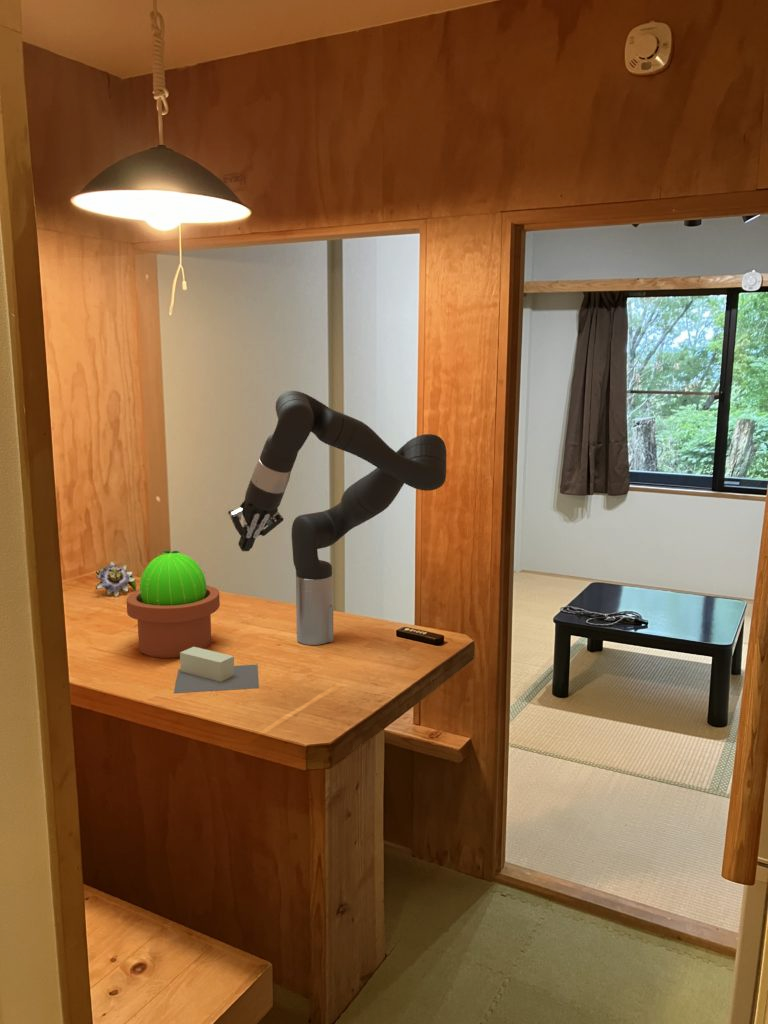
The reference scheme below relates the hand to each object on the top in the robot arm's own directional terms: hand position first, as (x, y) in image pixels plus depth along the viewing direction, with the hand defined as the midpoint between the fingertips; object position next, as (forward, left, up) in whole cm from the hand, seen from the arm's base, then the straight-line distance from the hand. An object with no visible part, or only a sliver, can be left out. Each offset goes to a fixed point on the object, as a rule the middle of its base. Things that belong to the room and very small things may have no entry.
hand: (244, 549), depth 173 cm
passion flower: (+40, -77, -31) cm, 92 cm away
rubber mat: (+7, 0, -31) cm, 31 cm away
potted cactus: (+18, -25, -31) cm, 44 cm away
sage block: (+4, 0, -27) cm, 28 cm away
